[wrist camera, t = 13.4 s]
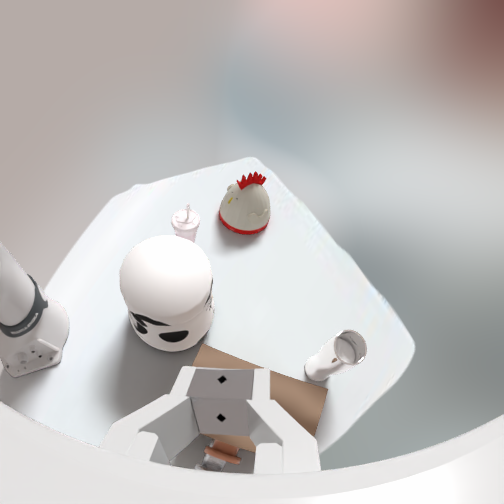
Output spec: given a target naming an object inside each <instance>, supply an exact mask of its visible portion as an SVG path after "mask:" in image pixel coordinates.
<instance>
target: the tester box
mask: <svg viewBox="0 0 504 504" xmlns="http://www.w3.org/2000/svg"><path fill="white" fill-rule="evenodd" d="M191 367H206V368H222V369H260V368H263V367H260V366H257V365H255V364H252V363H249V362H247V361H244V360H242V359H239V358H237V357H234V356H232V355H229V354H227V353H224V352H222V351H219V350H217V349H215V348H212V347H210V346H208V345H205V344H203V343H202V345H201V347H200V349H199V351H198V354H197V356H196V358H195V360H194V362H193V364H192V366H191ZM327 391H328V389H327V388H323V387H320V386H316V385H313V384H310V383H307V382H304V381H300V380H297V379H294V378H291V377H288V376H285V375H282V374H280V373H277V372H274V371H271V370H270V400H275V401H276V402H277V403H278V404H279V405H280V406H281V407H282V408H283V409H284V410H285V411H286V412H287V413H288V414H289V415H290V416H291V417H292V418H293V419H295V420H296V421H297V422H298V423H299V424H300V425H301V426H302V427H303V428H304V429H305V430H306V431H307V432H308V433H310V434H311V435H312V436H313V437H314V435H315V432H316V429H317V426H318V422H319V419H320V416H321V412H322V409H323V406H324V402H325V398H326V395H327ZM200 434H202V433H200ZM203 435H205V436H208V437H210V438H213V439H216V440H218V441H221V442H224V443H227V444H229V445H232V446H235V447H238V448H241V449H244V450H248V451H251V452H254V453H256V446H255V445H254V443H253V442H252V440H251V439H250V436H234V435H219V434H203Z"/></svg>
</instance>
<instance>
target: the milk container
mask: <svg viewBox="0 0 504 504" xmlns="http://www.w3.org/2000/svg"><path fill="white" fill-rule="evenodd" d="M212 283H213V276H212V271H211V267H210V262H209V259H208V258H207V257H206V255H205V254H204V252H203V251H202V249H201V248H200V247H198V246H197V245H195V244H194V243H193V242H191V241H190V240H187V239H184V238H181V237H178V236H164V235H161V236H157V237H153V238H149V239H146V240H144V241H143V242H141V243H139V244H138V245H136V246H134V247H133V248H132V250H131V251H130V252H129V253H128V254H127V255H126V257H125V258H124V261H123V263H122V266H121V268H120V289H121V293H122V295H123V297H124V300H125V303H126V305H127V307H128V315H129V319H130V322H131V324H132V327H133V328H134V330H135V332H136V333H137V334H138V336H139V337H140V338H141V339H142V340H144V341H145V342H146V343H147V344H149V345H151V346H152V347H155V348H157V349H160V350H163V351H181V350H185V349H188V348H190V347H192V346H194V345H195V344H197V343H198V342H199V341H200V340H201V339H202V338H203V337H204V336H205V335H206V334H207V332H208V331H209V329H210V327H211V324H212V321H213V317H214V300H213V296H212Z"/></svg>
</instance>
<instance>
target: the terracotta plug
mask: <svg viewBox="0 0 504 504" xmlns="http://www.w3.org/2000/svg"><path fill="white" fill-rule="evenodd" d="M238 450H239V448H238V447H235V446H232V445H229V444H227V443H224V442H221V441H218V440H216V439H215V441H214V444H213V446H212V447H209V446H206V448H205V450H204V452H205V453H206V454H208V455H211V456H213V457H215V458H218V459H221V460H224V461H227V462H230V463H234V464H239V463H240V460H241V458H240V457H238V456H236V455H237V453H238Z"/></svg>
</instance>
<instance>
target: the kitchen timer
mask: <svg viewBox="0 0 504 504" xmlns="http://www.w3.org/2000/svg"><path fill="white" fill-rule="evenodd" d="M261 178H262V175H261V174H259V175H258V174H257V172H256V171H255V173H254V175H253V177H252V174H251V173H250V174H249V176H248V178H247V180H246V177H245V176H244V175H243V176H242V180H241V181H238V180H237V183H236V184H235V185H234V184H231V185H230V186H229V187H228V189H227V191H228V192H227V193H226V195H225V196H224V198H223V200H222V202H221V205H220V211H219V216H220V220H221V221H222V223H223V225H225V226H226V227H227V228H228V229H230V230H232V231H233V232H236V233H240V234H249V235H250V234H255V233H258V232H260V231H262V230H263V229H264V228H265V227H266V226H267V224H268V222H269V219H270V201H269V197H268V194H267V192H266V190H265V189H264V187H263V186H262V184H263V183H264V182H265V180H266V178H265V176H264V177H263V178H262V179H261Z"/></svg>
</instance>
